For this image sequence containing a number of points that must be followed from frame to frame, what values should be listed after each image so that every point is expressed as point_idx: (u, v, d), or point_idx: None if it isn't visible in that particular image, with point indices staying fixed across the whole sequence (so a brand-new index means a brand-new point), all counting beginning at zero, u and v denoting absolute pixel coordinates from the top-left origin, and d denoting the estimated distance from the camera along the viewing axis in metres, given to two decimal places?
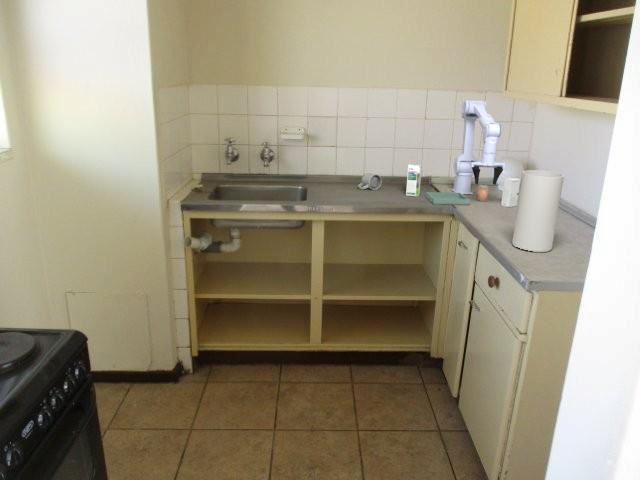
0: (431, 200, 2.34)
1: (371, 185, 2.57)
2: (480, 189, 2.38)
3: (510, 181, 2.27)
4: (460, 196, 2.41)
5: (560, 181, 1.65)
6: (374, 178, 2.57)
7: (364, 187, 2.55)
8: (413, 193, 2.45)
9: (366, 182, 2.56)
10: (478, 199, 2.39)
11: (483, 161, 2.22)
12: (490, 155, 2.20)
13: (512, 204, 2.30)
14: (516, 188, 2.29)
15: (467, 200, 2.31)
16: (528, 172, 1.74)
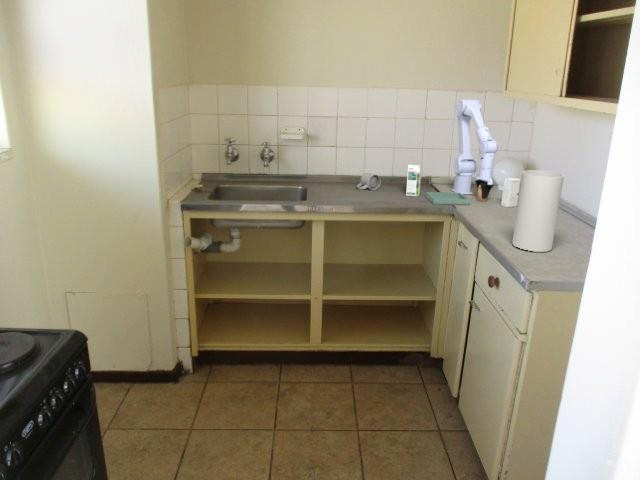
0: (431, 200, 2.34)
1: (370, 185, 2.57)
2: (480, 189, 2.38)
3: (510, 181, 2.27)
4: (460, 196, 2.41)
5: (560, 181, 1.65)
6: (373, 178, 2.56)
7: (363, 187, 2.55)
8: (413, 193, 2.45)
9: (365, 182, 2.56)
10: (478, 199, 2.39)
11: None
12: (479, 169, 2.36)
13: (512, 204, 2.30)
14: (516, 188, 2.29)
15: (467, 200, 2.31)
16: (528, 172, 1.74)
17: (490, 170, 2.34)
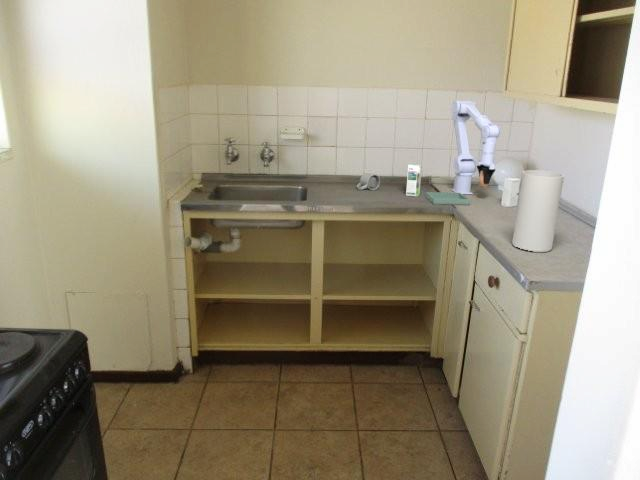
0: (431, 200, 2.34)
1: (369, 185, 2.57)
2: (482, 175, 2.36)
3: (510, 181, 2.27)
4: (460, 196, 2.41)
5: (560, 181, 1.65)
6: (372, 178, 2.56)
7: (362, 187, 2.55)
8: (413, 193, 2.45)
9: (364, 182, 2.56)
10: (480, 185, 2.37)
11: None
12: (481, 154, 2.34)
13: (512, 204, 2.30)
14: (516, 188, 2.29)
15: (467, 200, 2.31)
16: (528, 172, 1.74)
17: (492, 155, 2.32)
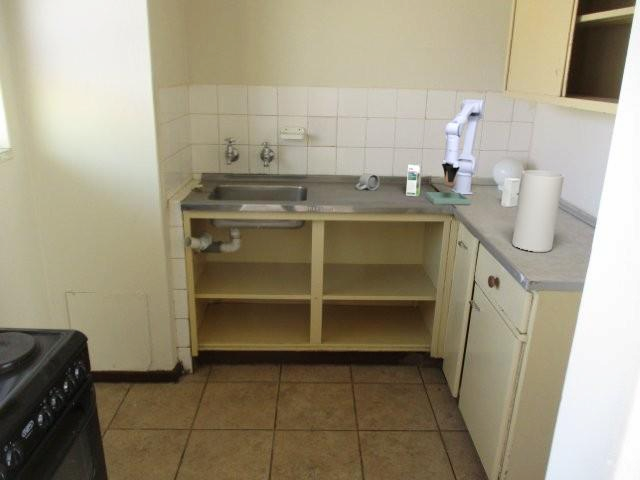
0: (431, 200, 2.34)
1: (369, 185, 2.57)
2: None
3: (510, 181, 2.27)
4: (460, 196, 2.41)
5: (560, 181, 1.65)
6: (372, 178, 2.56)
7: (362, 187, 2.55)
8: (413, 193, 2.45)
9: (364, 182, 2.56)
10: (445, 183, 2.34)
11: None
12: (445, 152, 2.31)
13: (512, 204, 2.30)
14: (516, 188, 2.29)
15: (467, 200, 2.31)
16: (528, 172, 1.74)
17: (456, 153, 2.28)
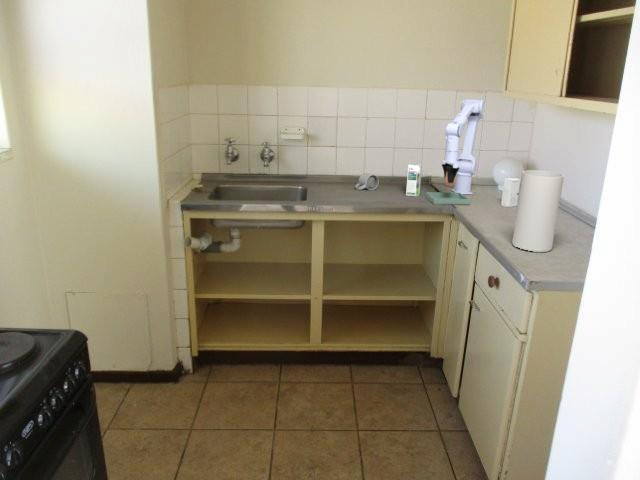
0: (431, 200, 2.34)
1: (368, 185, 2.57)
2: None
3: (510, 181, 2.27)
4: (460, 196, 2.41)
5: (560, 181, 1.65)
6: (371, 178, 2.56)
7: (361, 187, 2.54)
8: (413, 193, 2.45)
9: (363, 182, 2.55)
10: (445, 184, 2.34)
11: None
12: (445, 152, 2.31)
13: (512, 204, 2.30)
14: (516, 188, 2.29)
15: (467, 200, 2.31)
16: (528, 172, 1.74)
17: (456, 153, 2.29)
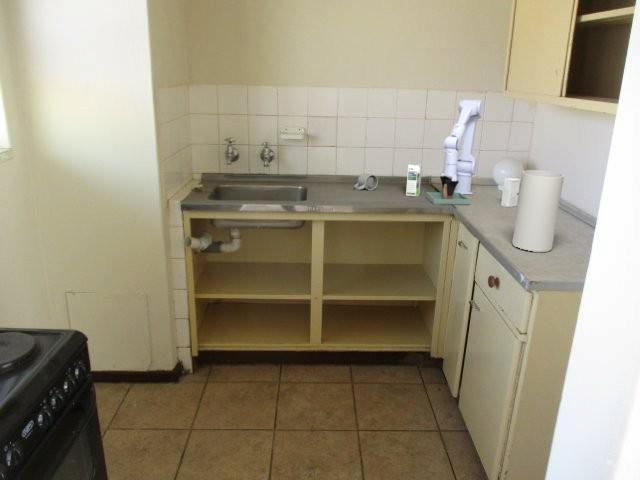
0: (431, 200, 2.34)
1: (367, 185, 2.56)
2: (445, 188, 2.34)
3: (510, 181, 2.27)
4: (460, 196, 2.41)
5: (560, 181, 1.65)
6: (370, 178, 2.56)
7: (360, 187, 2.54)
8: (413, 193, 2.45)
9: (362, 182, 2.55)
10: (444, 198, 2.36)
11: None
12: (444, 165, 2.33)
13: (512, 204, 2.30)
14: (516, 188, 2.29)
15: (467, 200, 2.31)
16: (528, 172, 1.74)
17: (454, 166, 2.30)
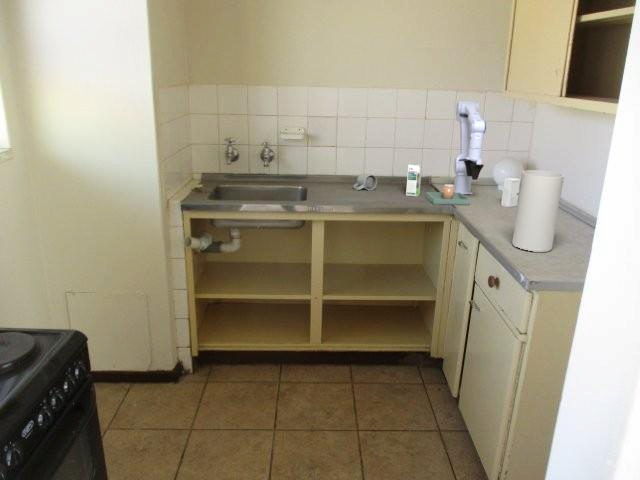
0: (431, 200, 2.34)
1: (366, 185, 2.56)
2: (445, 188, 2.34)
3: (510, 181, 2.27)
4: (460, 196, 2.41)
5: (560, 181, 1.65)
6: (369, 178, 2.56)
7: (359, 187, 2.54)
8: (413, 193, 2.45)
9: (361, 182, 2.55)
10: (444, 198, 2.36)
11: None
12: (468, 149, 2.34)
13: (512, 204, 2.30)
14: (516, 188, 2.29)
15: (467, 200, 2.31)
16: (528, 172, 1.74)
17: (479, 150, 2.31)
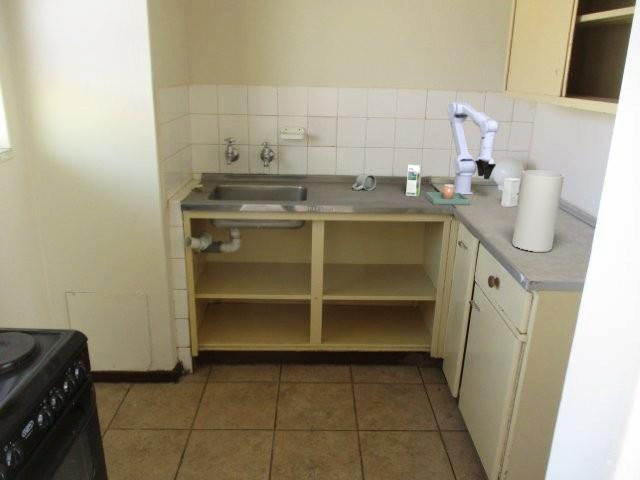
0: (431, 200, 2.34)
1: (366, 185, 2.56)
2: (445, 188, 2.34)
3: (510, 181, 2.27)
4: (460, 196, 2.41)
5: (560, 181, 1.65)
6: (369, 178, 2.55)
7: (359, 187, 2.54)
8: (413, 193, 2.45)
9: (361, 182, 2.55)
10: (444, 198, 2.36)
11: None
12: (480, 149, 2.35)
13: (512, 204, 2.30)
14: (516, 188, 2.29)
15: (467, 200, 2.31)
16: (528, 172, 1.74)
17: (491, 150, 2.33)
